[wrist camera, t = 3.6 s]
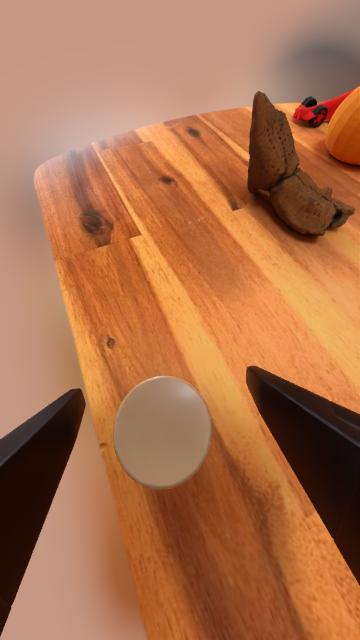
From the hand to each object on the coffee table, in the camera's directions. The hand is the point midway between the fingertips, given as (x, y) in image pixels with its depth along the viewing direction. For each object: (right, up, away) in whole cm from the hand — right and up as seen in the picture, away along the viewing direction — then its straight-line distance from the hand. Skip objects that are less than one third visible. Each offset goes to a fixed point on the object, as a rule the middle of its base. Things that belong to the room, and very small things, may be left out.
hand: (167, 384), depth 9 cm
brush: (0, -4, +5) cm, 7 cm away
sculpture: (+16, +19, +17) cm, 30 cm away
